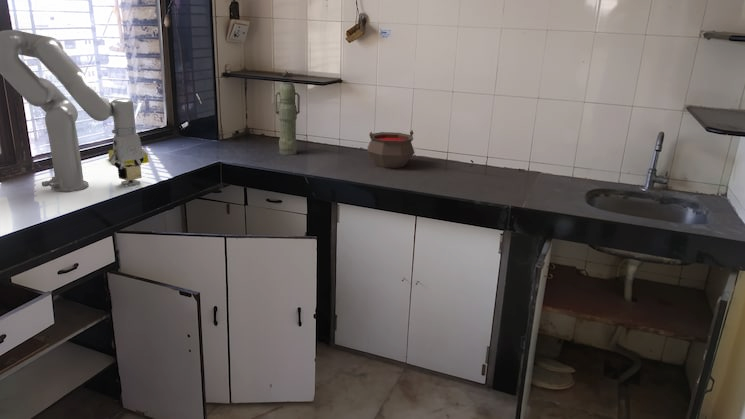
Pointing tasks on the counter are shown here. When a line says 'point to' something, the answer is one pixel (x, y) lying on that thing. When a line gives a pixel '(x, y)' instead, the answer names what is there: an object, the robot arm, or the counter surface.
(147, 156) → the element tile
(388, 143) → the brown cauldron
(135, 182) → the grey post on base
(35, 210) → the counter surface
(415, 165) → the counter surface
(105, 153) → the counter surface
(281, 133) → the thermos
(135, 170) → the tan box with hole
